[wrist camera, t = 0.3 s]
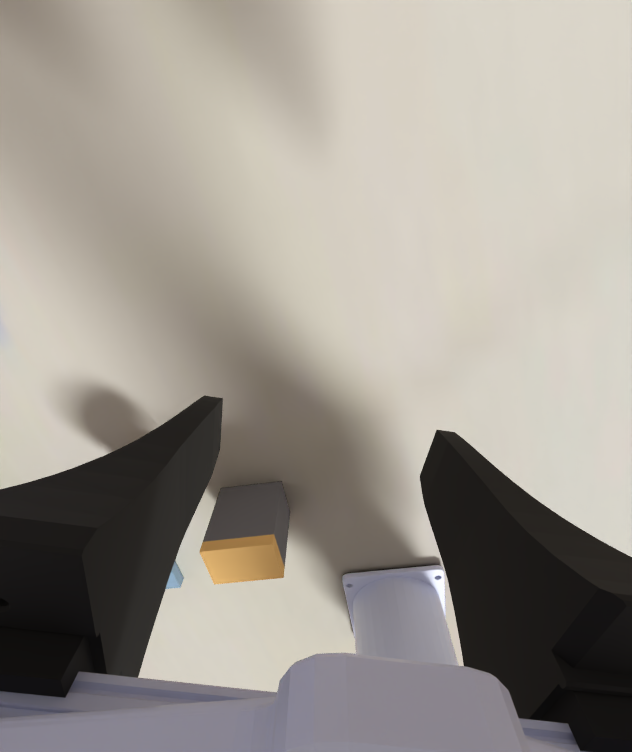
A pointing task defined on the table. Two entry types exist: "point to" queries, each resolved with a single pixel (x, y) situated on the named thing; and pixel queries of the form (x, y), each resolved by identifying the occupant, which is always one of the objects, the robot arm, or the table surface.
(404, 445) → the table surface
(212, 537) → the orange and grey block
